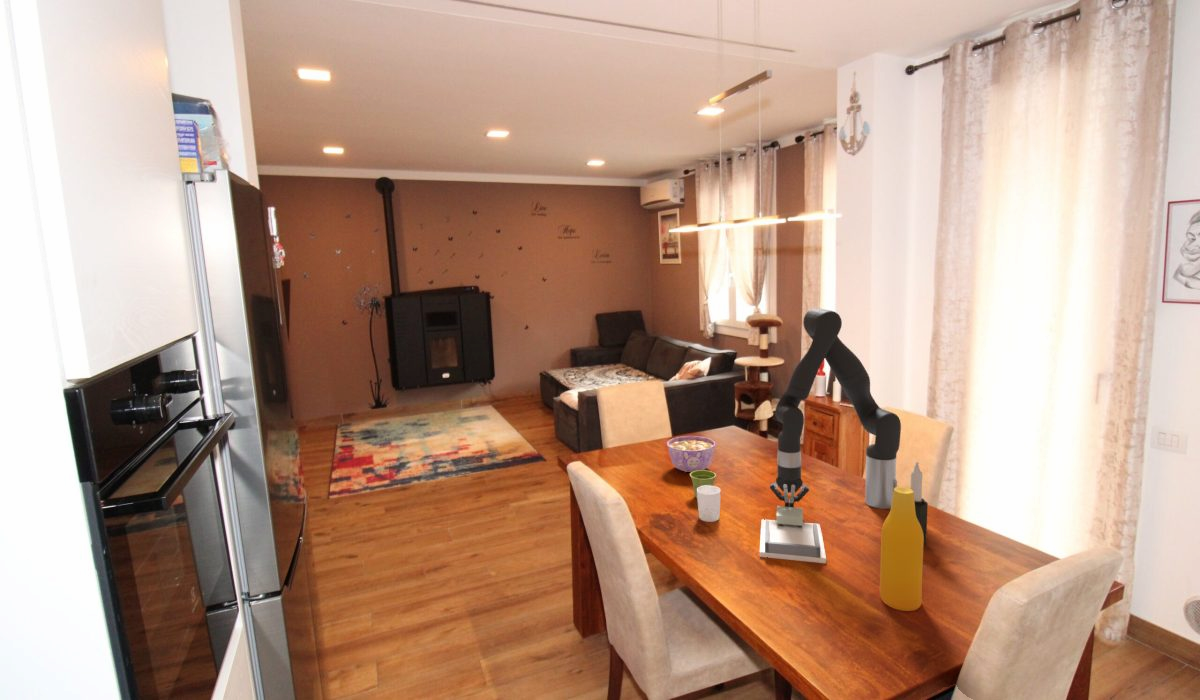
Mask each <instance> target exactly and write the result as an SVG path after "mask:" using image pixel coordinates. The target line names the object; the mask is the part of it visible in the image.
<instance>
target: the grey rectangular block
mask: <svg viewBox="0 0 1200 700" xmlns="http://www.w3.org/2000/svg"><path fill="white" fill-rule="evenodd" d="M803 514H804V513H803V507H795V506H794V507H785V505H784V506H783V505H782V506H781V505H777V507H776V523H777V524H778V525H779V526H781V525H782V524H789V525H797V527H802V526H803V523H804V515H803Z"/></svg>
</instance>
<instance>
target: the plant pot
mask: <svg viewBox="0 0 1200 700" xmlns="http://www.w3.org/2000/svg"><path fill="white" fill-rule="evenodd" d="M689 476H690V478H691V480H692V481H691V483H692V486H693V493H694V498H696V499H697V488H698V487H700V486H704V485H712V486H714V481H715V479H716V476H717V474H716V473H715V472H713V471H711V470H706V469H704V470H698V471H693V472H691V473H689Z"/></svg>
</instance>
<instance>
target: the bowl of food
mask: <svg viewBox="0 0 1200 700" xmlns="http://www.w3.org/2000/svg"><path fill="white" fill-rule="evenodd" d="M666 445H667V450H668V453H669V457H670V460H671V462H672V464H673V466H674V467H675V468H676V469H678V470H680V471H686V472H693V471H698V470H706V469H707V468H709V466H710V465H711V463H712V460H713V457H714V452H715V448H716V442H715V441H714V440H713V439H712V438H709V437H705V436H700V435H699V436H698V435H697V436H696V435H683V436H677V437H673V438H672V439H669V440H668V441H667V442H666ZM686 472H685V473H686Z"/></svg>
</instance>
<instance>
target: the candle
mask: <svg viewBox="0 0 1200 700" xmlns="http://www.w3.org/2000/svg"><path fill="white" fill-rule="evenodd" d="M909 489H912V490H913V492H914V502H915V513H916V517H917V519H918V521H919V523H920V526H921V528H922V531H923V536H924V544H923V546H924V545H926V544H927V534H928V533H927V531H928V529H927V528H928V508H929V507H928V505H929V503H928V502H927V501H925V499H924V498H922V495H923V494H922V493H923V492H922V491H923V490H922V489H923V472H922V471H921V469H920V466H919V462H918V461H916V462H915V465H914V468H913V469H912V471H910V487H909Z"/></svg>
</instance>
